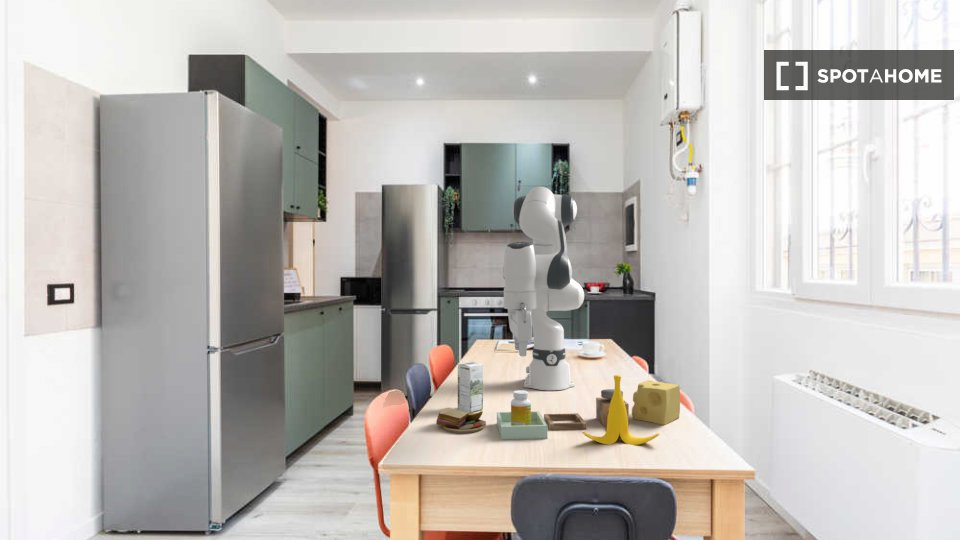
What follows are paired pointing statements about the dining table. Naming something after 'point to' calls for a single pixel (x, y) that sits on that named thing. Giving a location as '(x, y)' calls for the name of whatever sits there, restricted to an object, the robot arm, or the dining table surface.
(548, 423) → the brown wooden frame
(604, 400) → the tan square block
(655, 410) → the cheese
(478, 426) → the toy sandwich meal
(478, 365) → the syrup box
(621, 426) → the banana peel
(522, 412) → the supplement bottle
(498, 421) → the tray
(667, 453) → the dining table surface
